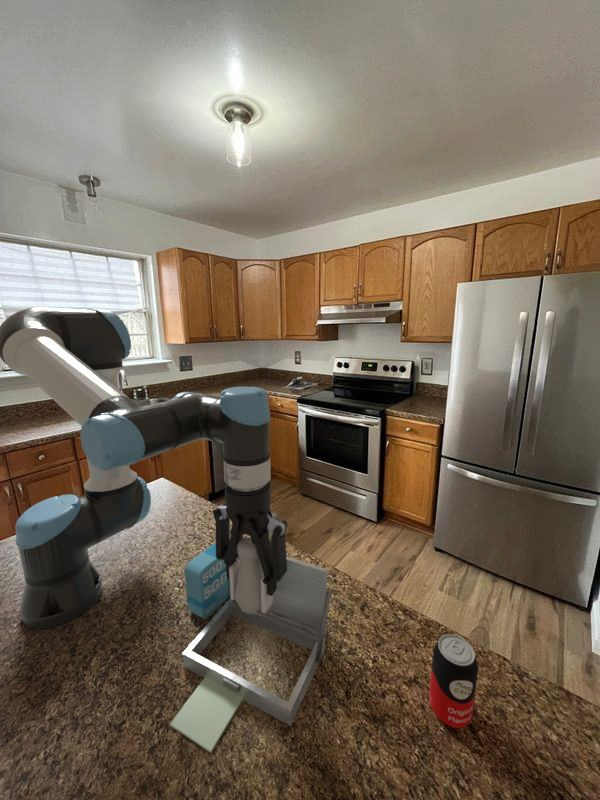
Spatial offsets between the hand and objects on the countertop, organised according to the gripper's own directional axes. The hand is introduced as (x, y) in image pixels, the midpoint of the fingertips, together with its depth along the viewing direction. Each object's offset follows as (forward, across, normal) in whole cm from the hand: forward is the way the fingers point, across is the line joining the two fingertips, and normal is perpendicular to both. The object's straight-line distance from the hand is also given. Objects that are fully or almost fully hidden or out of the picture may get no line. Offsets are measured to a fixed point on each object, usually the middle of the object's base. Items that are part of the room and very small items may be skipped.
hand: (251, 600), depth 61 cm
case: (+13, 0, 0) cm, 13 cm away
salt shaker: (+1, 0, 0) cm, 1 cm away
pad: (+13, -2, -11) cm, 17 cm away
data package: (+13, -16, +8) cm, 22 cm away
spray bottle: (+13, -4, +15) cm, 20 cm away
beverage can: (+12, +34, +6) cm, 36 cm away
